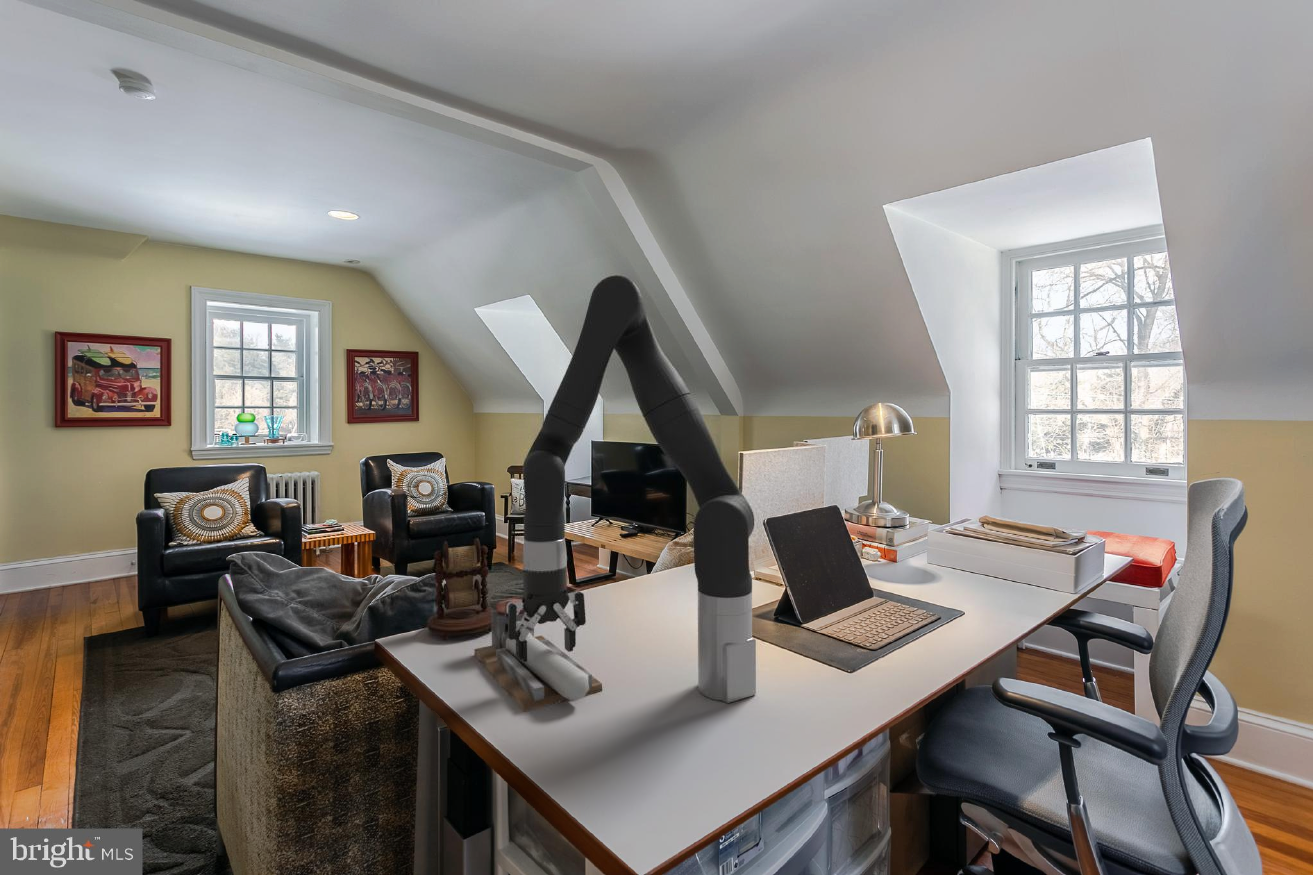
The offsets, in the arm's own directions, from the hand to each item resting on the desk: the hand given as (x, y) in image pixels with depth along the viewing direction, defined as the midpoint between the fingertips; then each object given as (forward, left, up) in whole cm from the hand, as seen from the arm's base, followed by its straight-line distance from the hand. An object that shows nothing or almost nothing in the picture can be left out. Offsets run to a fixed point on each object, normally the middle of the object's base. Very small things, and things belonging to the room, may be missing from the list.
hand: (546, 655), depth 113 cm
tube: (0, 0, -4) cm, 4 cm away
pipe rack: (+6, 0, -5) cm, 8 cm away
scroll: (+36, +5, -5) cm, 37 cm away
